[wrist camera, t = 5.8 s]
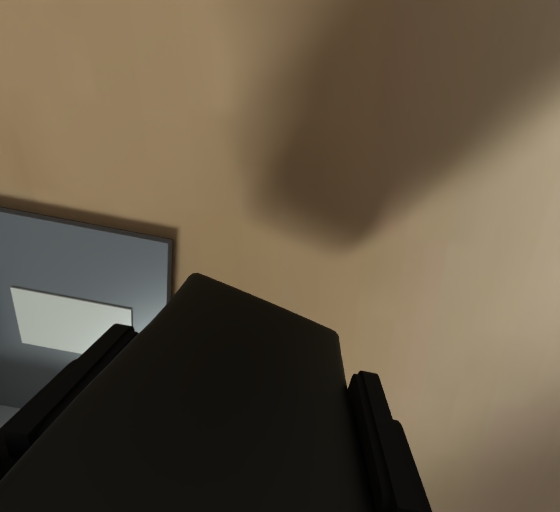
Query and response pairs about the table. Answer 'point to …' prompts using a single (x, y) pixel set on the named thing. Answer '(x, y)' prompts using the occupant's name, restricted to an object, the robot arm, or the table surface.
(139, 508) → the battery charger
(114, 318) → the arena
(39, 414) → the robot arm
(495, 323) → the table surface
